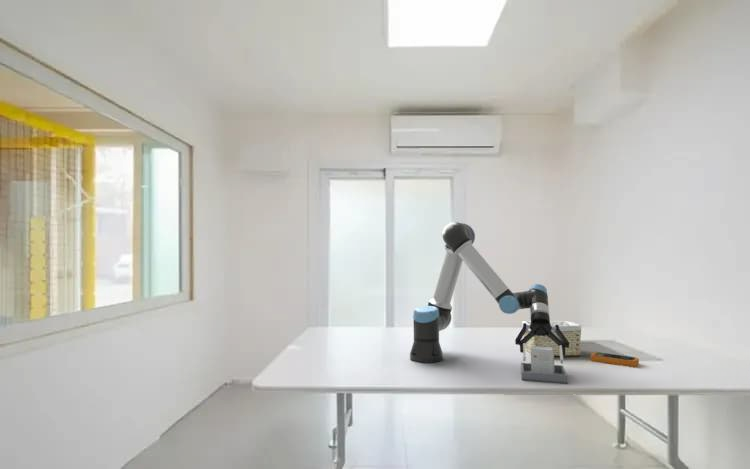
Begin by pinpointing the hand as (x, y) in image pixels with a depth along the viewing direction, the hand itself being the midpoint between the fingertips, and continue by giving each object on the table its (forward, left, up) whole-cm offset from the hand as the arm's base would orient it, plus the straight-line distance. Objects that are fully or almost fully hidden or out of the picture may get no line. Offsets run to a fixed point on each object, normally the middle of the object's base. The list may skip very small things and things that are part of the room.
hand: (543, 360), depth 168 cm
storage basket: (+7, +47, -7) cm, 48 cm away
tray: (0, +2, -7) cm, 7 cm away
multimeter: (+32, +35, -7) cm, 48 cm away
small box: (0, +2, -6) cm, 7 cm away
